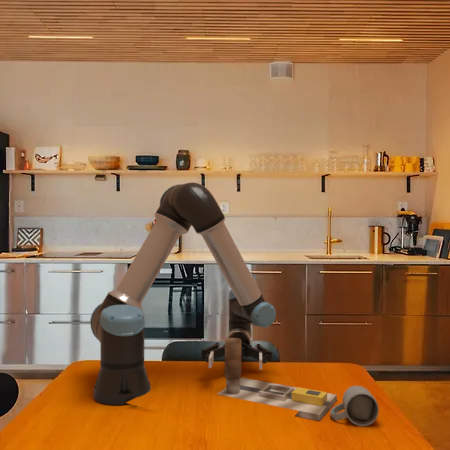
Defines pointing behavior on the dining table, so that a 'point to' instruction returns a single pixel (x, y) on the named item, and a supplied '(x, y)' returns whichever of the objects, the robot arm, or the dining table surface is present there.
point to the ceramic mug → (357, 407)
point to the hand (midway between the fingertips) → (235, 363)
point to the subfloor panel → (280, 398)
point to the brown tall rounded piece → (232, 365)
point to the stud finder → (309, 396)
